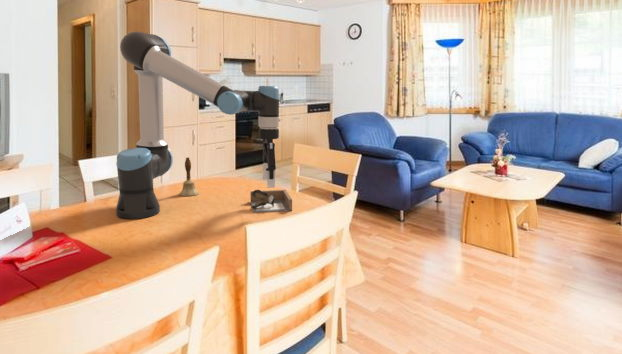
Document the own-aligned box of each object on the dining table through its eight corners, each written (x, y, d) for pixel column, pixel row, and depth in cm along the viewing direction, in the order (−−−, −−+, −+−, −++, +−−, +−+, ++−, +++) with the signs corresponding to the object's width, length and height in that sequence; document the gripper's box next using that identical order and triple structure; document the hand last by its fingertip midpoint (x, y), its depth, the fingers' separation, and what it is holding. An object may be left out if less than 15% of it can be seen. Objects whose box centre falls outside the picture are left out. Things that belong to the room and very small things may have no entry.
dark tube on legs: (273, 200, 174) (251, 196, 172) (276, 188, 169) (253, 184, 167) (272, 214, 168) (249, 211, 167) (276, 202, 163) (252, 199, 162)
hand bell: (178, 192, 190) (176, 156, 187) (197, 190, 194) (195, 155, 190) (181, 197, 183) (178, 160, 180) (200, 195, 186) (199, 158, 183)
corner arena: (254, 212, 163) (253, 201, 162) (250, 201, 177) (250, 191, 176) (292, 210, 166) (292, 199, 165) (285, 200, 180) (285, 189, 179)
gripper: (283, 131, 151) (283, 190, 156) (274, 124, 175) (274, 175, 179) (262, 131, 149) (262, 191, 154) (255, 124, 173) (255, 176, 178)
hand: (268, 183), depth 167 cm, fingers open, 13 cm apart
